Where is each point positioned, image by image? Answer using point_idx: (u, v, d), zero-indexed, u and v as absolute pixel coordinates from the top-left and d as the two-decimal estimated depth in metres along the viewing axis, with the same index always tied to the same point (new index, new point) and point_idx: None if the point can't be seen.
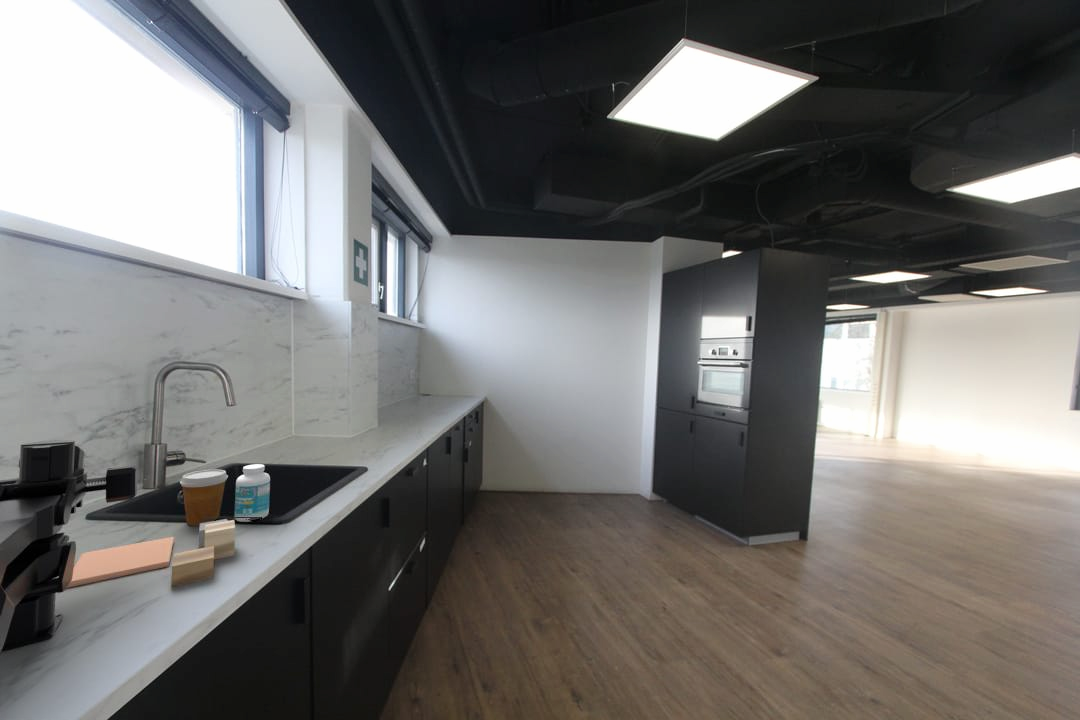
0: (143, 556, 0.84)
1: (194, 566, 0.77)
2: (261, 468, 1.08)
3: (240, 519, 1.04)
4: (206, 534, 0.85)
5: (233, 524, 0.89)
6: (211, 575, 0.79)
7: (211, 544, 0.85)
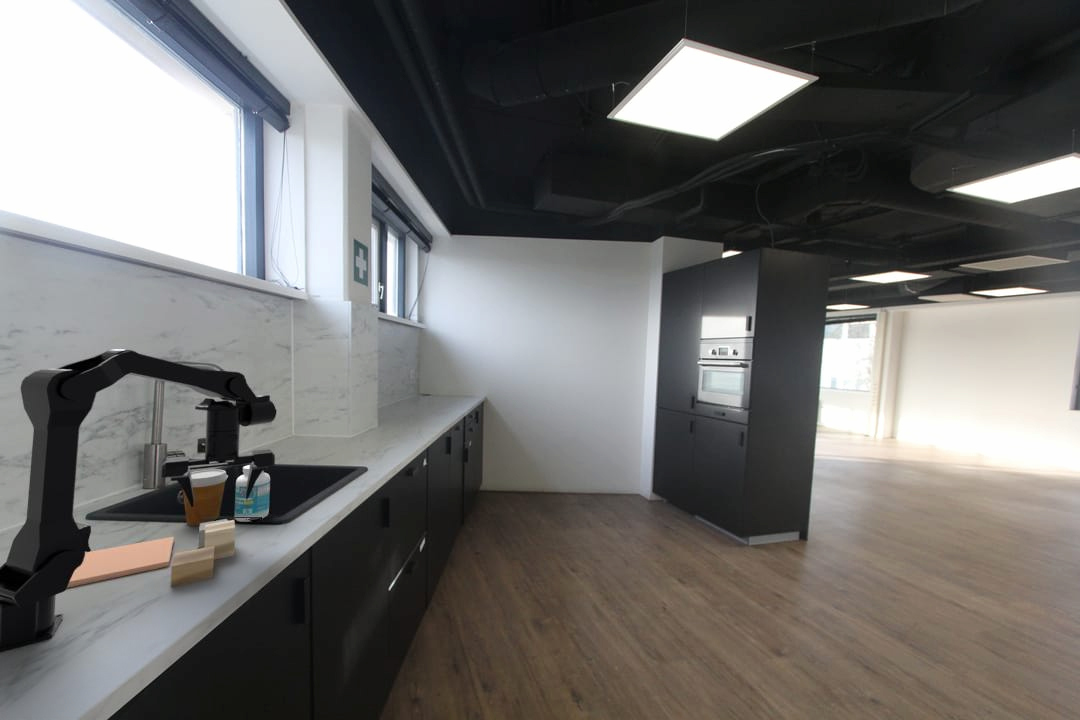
0: (143, 556, 0.84)
1: (193, 566, 0.77)
2: None
3: (240, 519, 1.04)
4: (206, 534, 0.85)
5: (233, 524, 0.89)
6: (211, 575, 0.79)
7: (211, 544, 0.85)
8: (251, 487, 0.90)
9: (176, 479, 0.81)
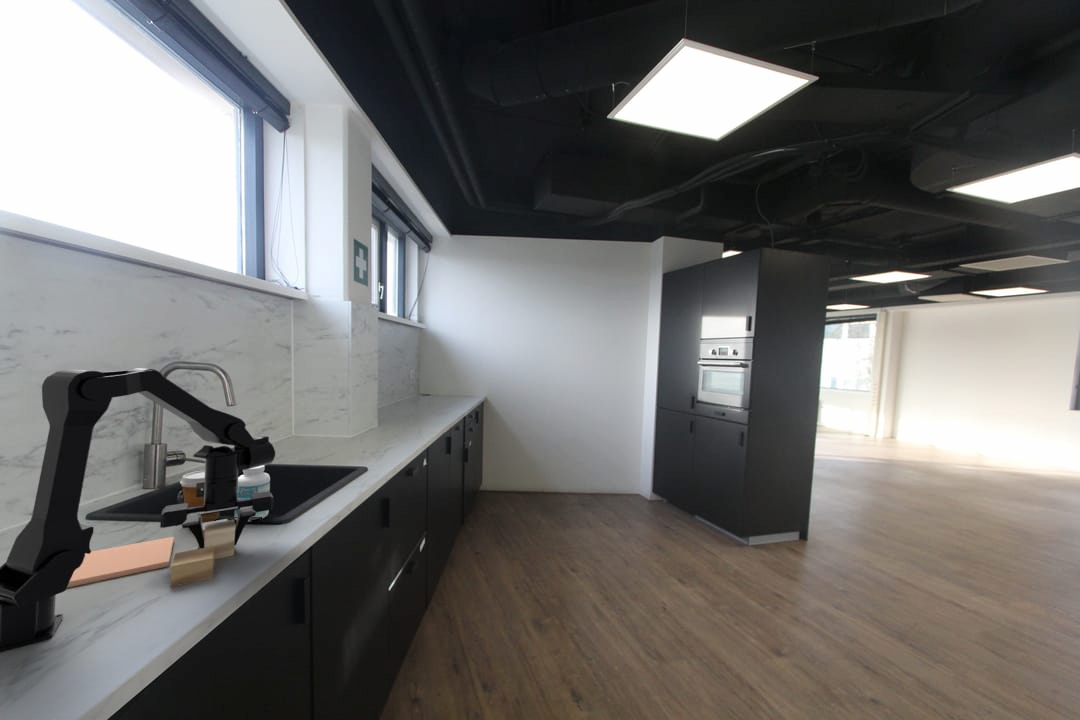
0: (143, 556, 0.84)
1: (193, 567, 0.77)
2: (261, 468, 1.08)
3: None
4: (206, 534, 0.85)
5: (233, 524, 0.89)
6: (210, 575, 0.78)
7: (211, 544, 0.85)
8: (239, 534, 0.89)
9: (187, 526, 0.83)
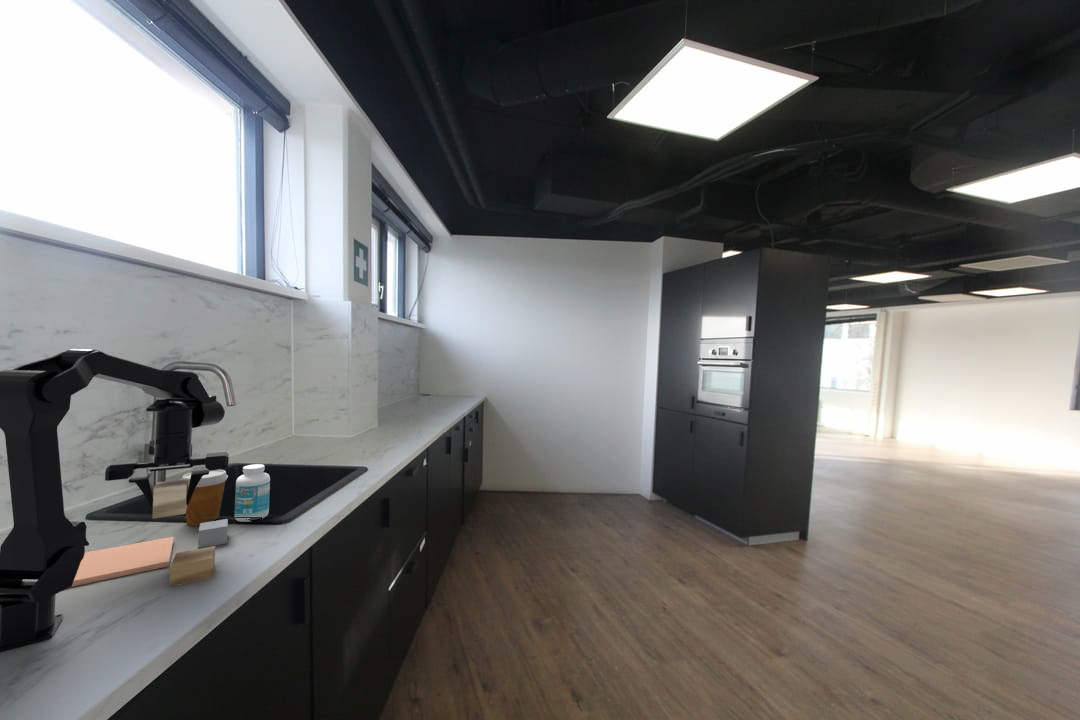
0: (143, 556, 0.84)
1: (192, 567, 0.77)
2: (261, 468, 1.08)
3: (240, 519, 1.04)
4: (155, 490, 0.82)
5: (186, 482, 0.87)
6: (209, 576, 0.78)
7: (160, 501, 0.83)
8: (191, 492, 0.86)
9: (134, 481, 0.80)
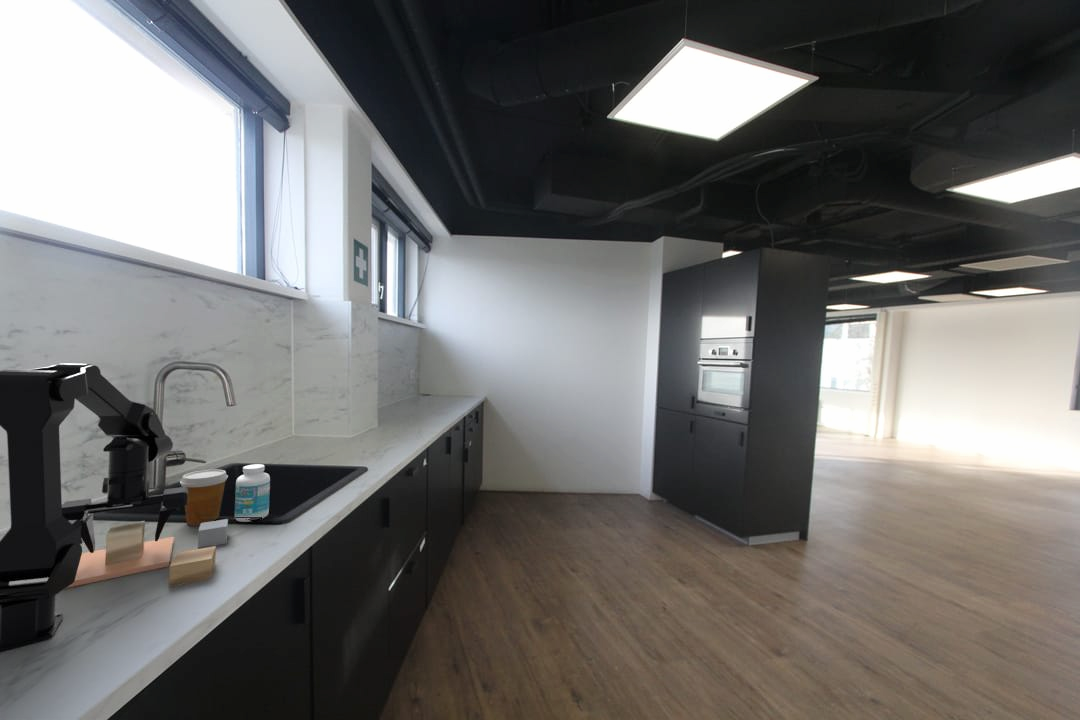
0: (143, 556, 0.84)
1: (192, 567, 0.77)
2: (261, 468, 1.08)
3: (240, 519, 1.04)
4: (108, 536, 0.80)
5: (141, 525, 0.84)
6: (209, 576, 0.78)
7: (114, 546, 0.81)
8: (160, 529, 0.86)
9: None
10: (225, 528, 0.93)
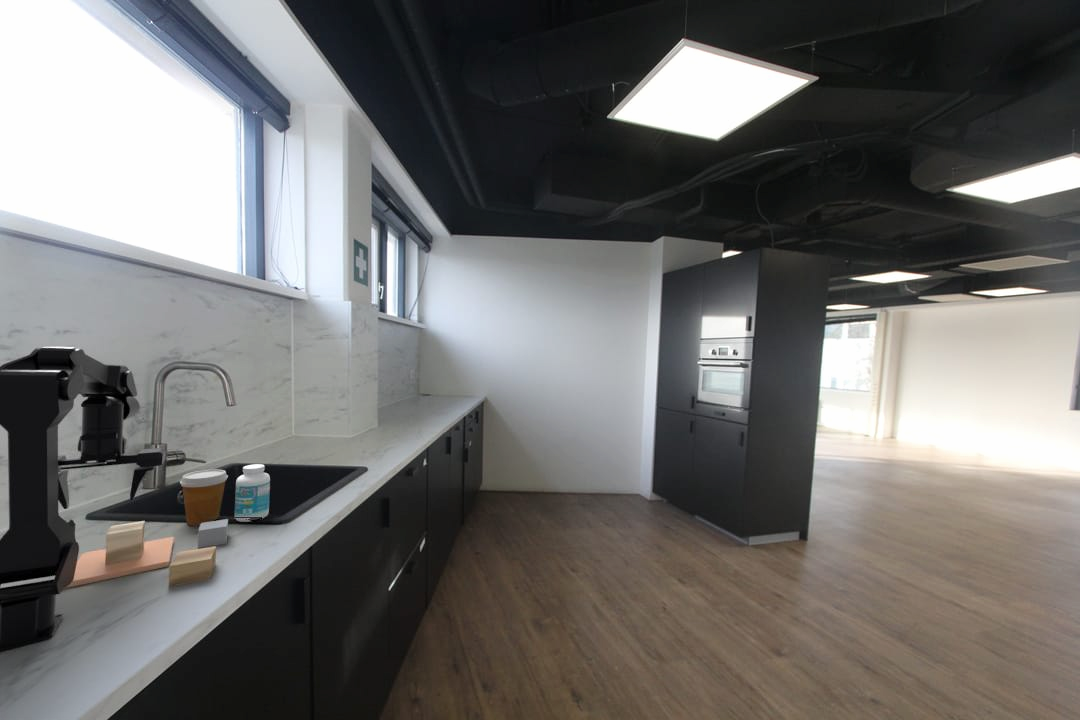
0: (143, 556, 0.84)
1: (191, 567, 0.77)
2: (261, 468, 1.08)
3: (240, 519, 1.04)
4: (108, 536, 0.80)
5: (141, 525, 0.84)
6: (208, 576, 0.78)
7: (114, 546, 0.81)
8: (135, 488, 0.85)
9: None
10: (225, 528, 0.93)
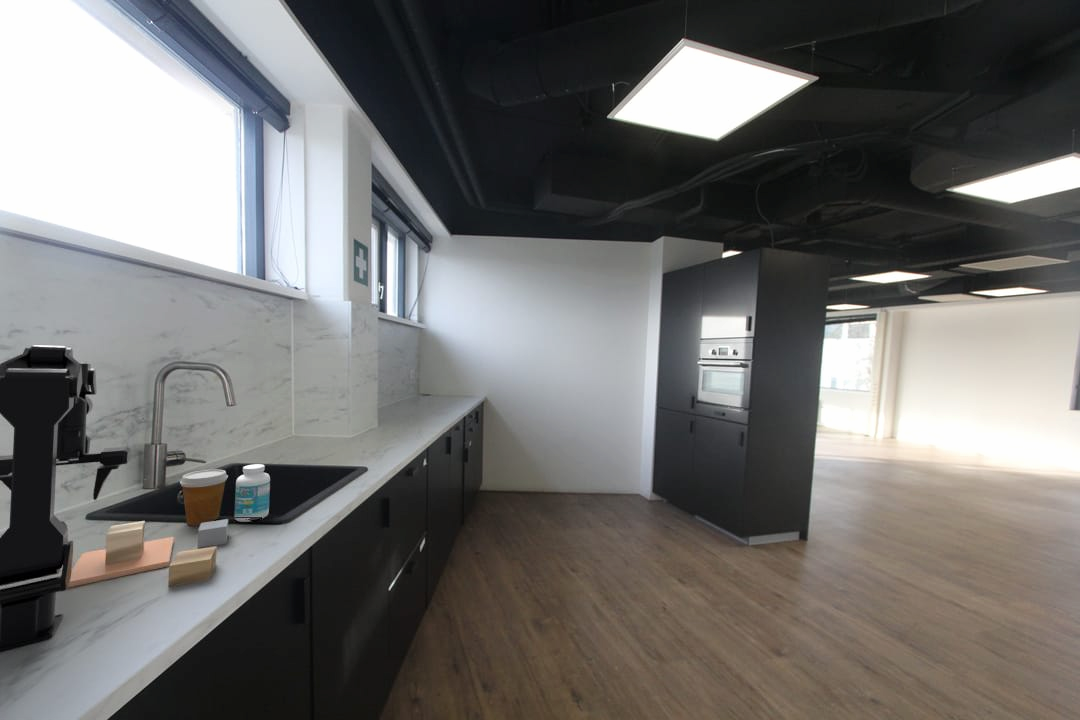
0: (143, 556, 0.84)
1: (191, 567, 0.77)
2: (261, 468, 1.08)
3: (240, 519, 1.04)
4: (108, 536, 0.80)
5: (141, 525, 0.84)
6: (208, 577, 0.78)
7: (114, 546, 0.81)
8: (99, 487, 0.84)
9: (0, 479, 0.75)
10: (225, 528, 0.93)
